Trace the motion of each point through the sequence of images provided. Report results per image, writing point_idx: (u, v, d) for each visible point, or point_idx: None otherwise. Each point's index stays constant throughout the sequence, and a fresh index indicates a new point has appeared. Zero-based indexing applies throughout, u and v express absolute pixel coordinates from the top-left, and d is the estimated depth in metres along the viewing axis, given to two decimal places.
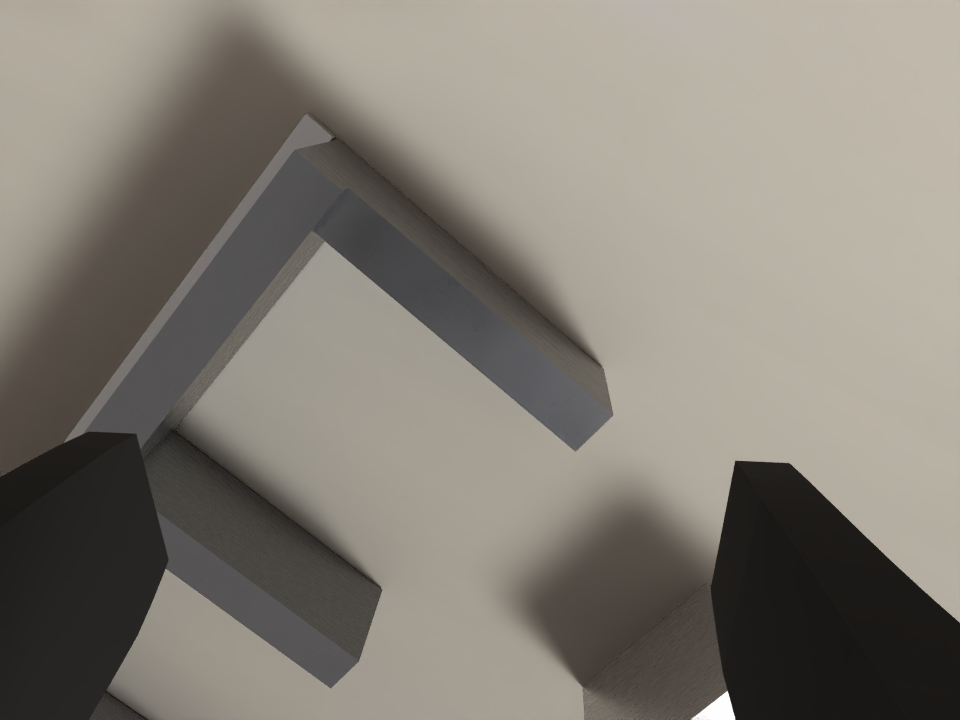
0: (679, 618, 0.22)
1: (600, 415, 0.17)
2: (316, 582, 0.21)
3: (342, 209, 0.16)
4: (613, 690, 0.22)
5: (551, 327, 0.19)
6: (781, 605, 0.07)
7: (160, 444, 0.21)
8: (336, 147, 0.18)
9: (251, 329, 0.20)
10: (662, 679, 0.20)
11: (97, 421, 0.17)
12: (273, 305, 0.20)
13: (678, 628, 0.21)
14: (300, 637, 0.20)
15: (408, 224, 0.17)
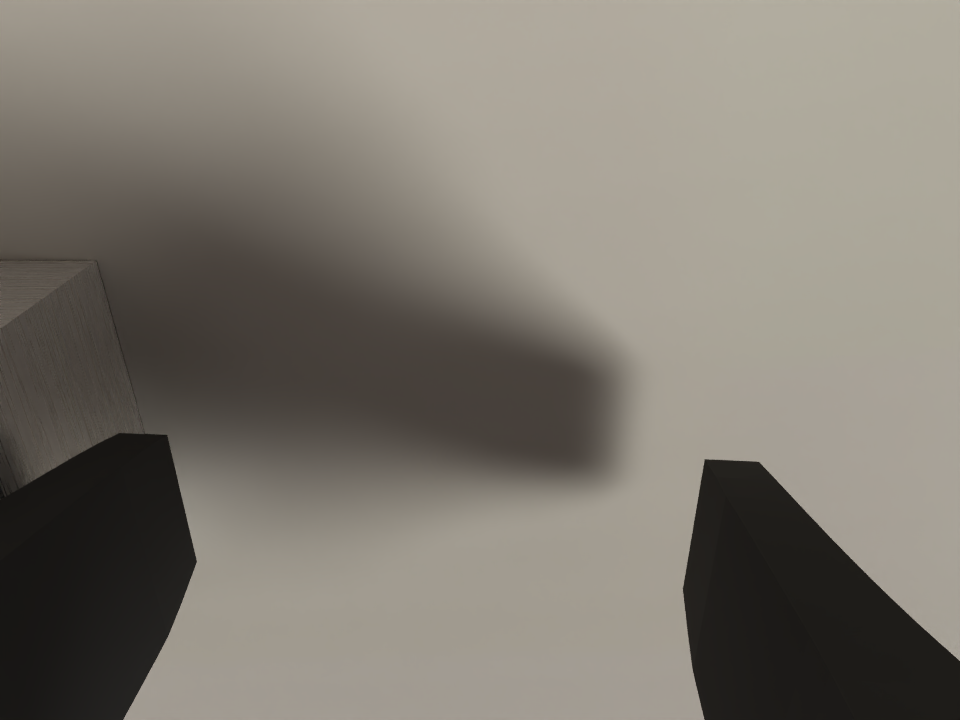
0: None
1: None
2: None
3: None
4: None
5: None
6: (743, 602, 0.07)
7: None
8: None
9: None
10: None
11: None
12: None
13: None
14: None
15: None
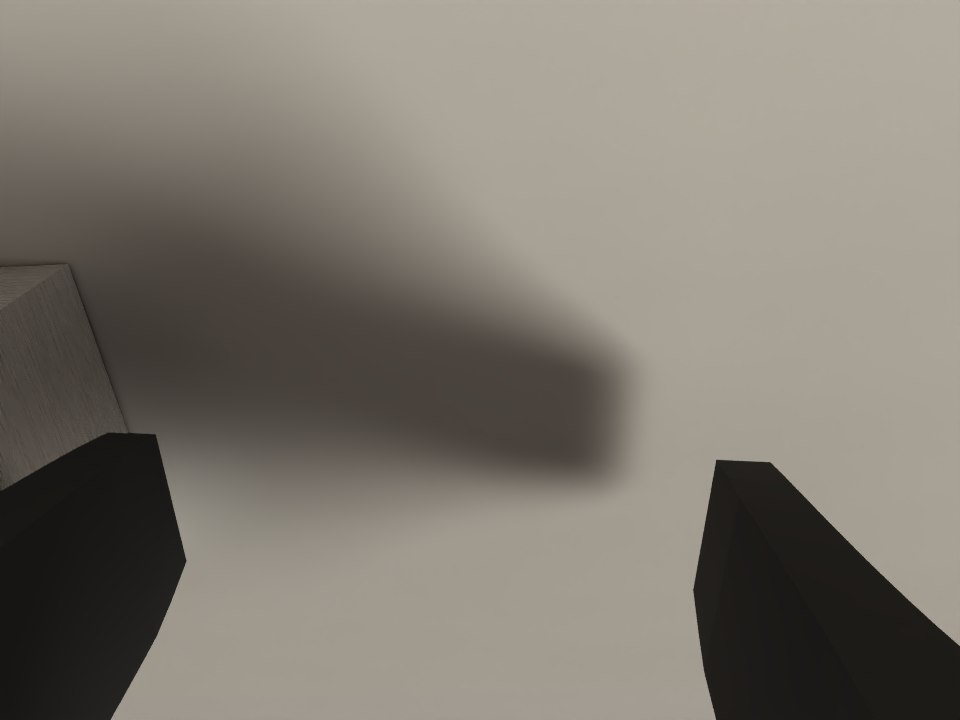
0: None
1: None
2: None
3: None
4: None
5: None
6: (758, 604, 0.07)
7: None
8: None
9: None
10: None
11: None
12: None
13: None
14: None
15: None
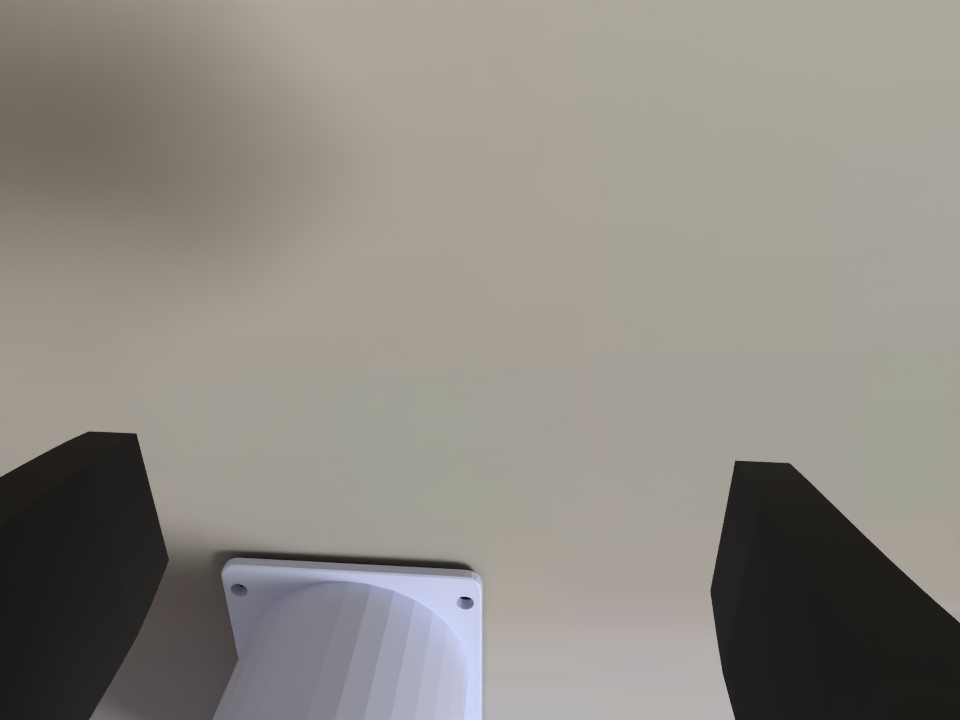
0: None
1: None
2: None
3: None
4: None
5: None
6: (781, 605, 0.07)
7: None
8: None
9: None
10: None
11: None
12: None
13: None
14: None
15: None
